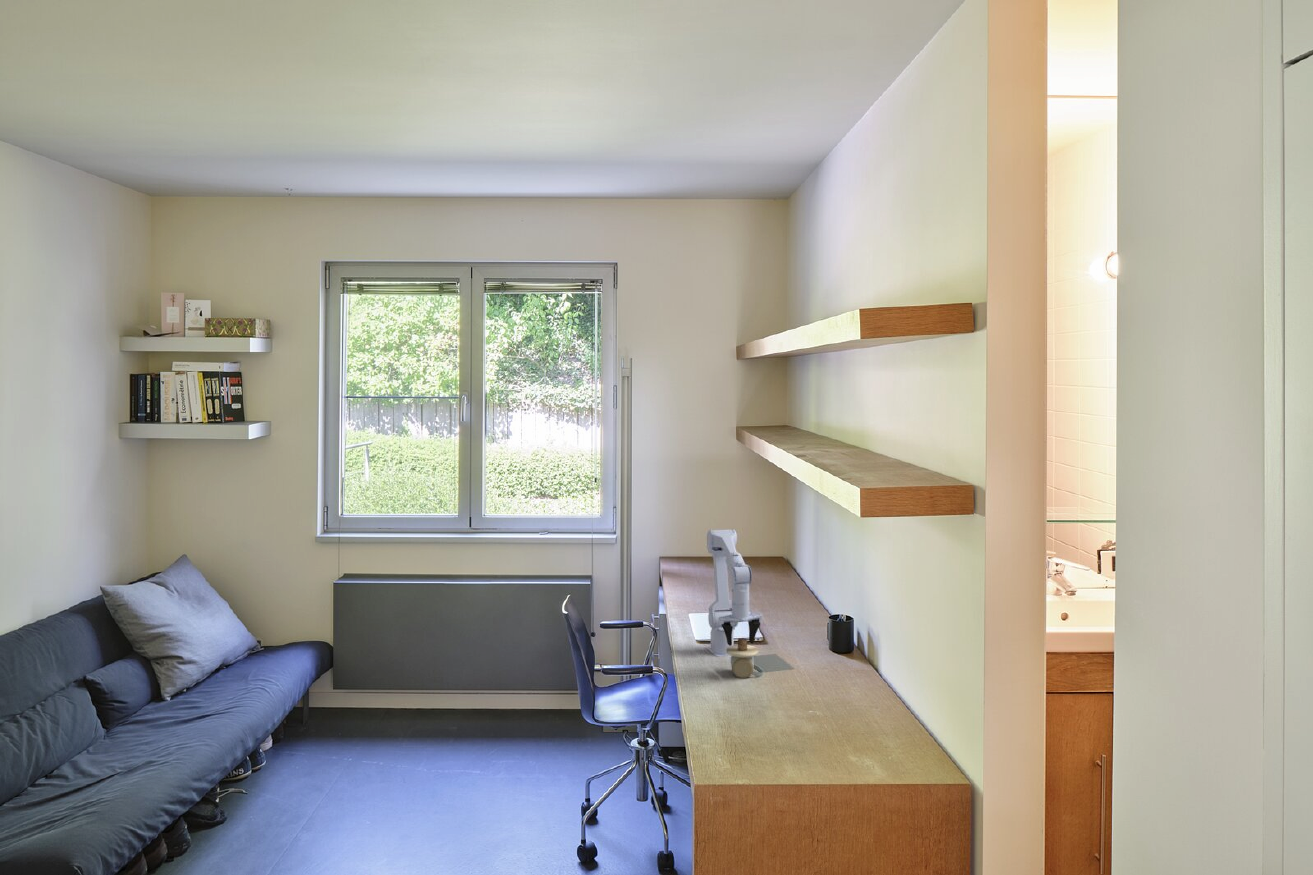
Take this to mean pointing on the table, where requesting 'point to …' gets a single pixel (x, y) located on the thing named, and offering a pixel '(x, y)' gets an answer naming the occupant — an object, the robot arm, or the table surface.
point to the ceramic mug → (745, 667)
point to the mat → (771, 663)
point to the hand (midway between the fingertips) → (740, 643)
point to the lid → (742, 649)
